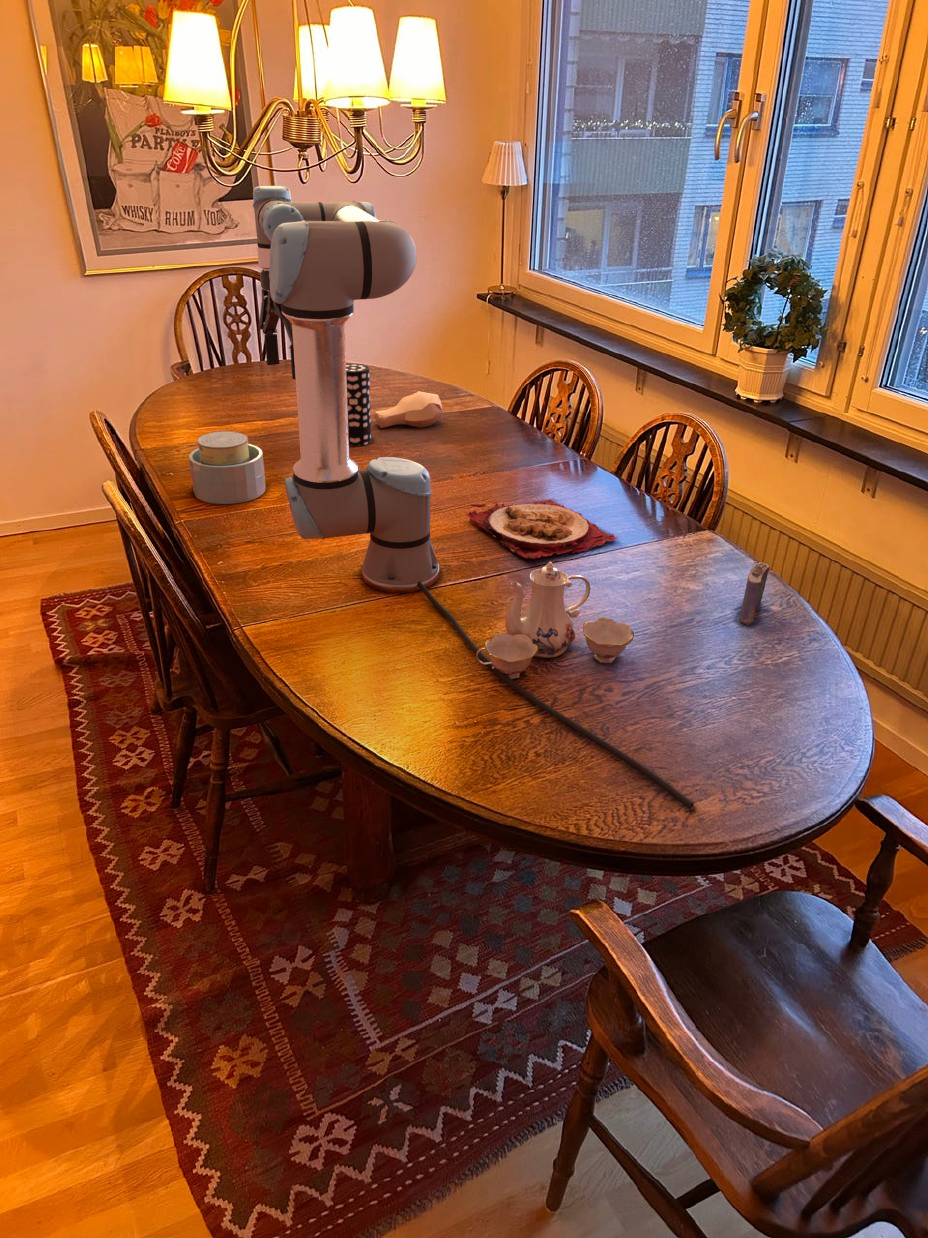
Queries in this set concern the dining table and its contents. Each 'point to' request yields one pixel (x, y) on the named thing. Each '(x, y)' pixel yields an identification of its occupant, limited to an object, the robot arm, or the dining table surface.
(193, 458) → the pot
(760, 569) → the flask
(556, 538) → the plate with food
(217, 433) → the canned food
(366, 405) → the white-spotted black cylinder
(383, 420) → the squash
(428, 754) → the dining table surface
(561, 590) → the chinaware
